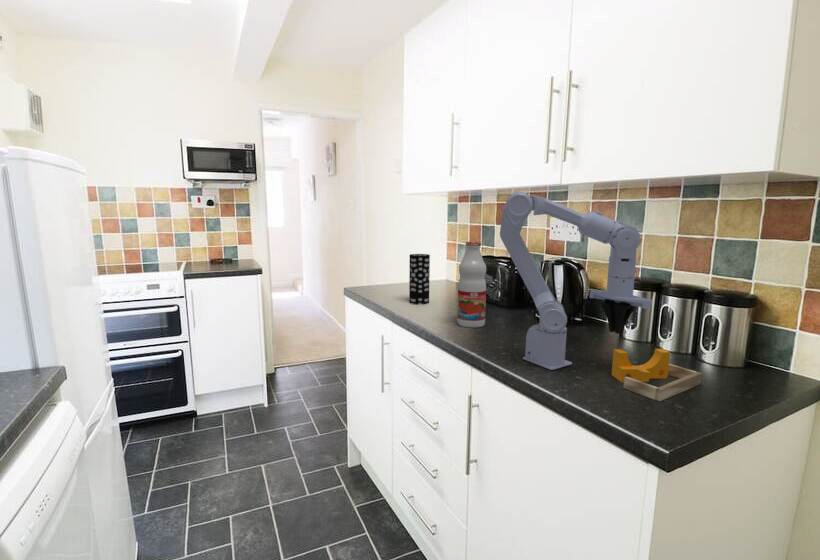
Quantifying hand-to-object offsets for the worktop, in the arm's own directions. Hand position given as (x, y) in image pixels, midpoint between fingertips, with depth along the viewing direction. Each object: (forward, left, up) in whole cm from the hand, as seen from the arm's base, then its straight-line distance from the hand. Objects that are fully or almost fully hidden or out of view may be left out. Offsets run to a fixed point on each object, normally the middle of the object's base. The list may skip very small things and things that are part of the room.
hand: (616, 332), depth 103 cm
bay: (+12, 0, -9) cm, 15 cm away
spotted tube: (-88, +1, -10) cm, 89 cm away
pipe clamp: (+7, 0, -10) cm, 12 cm away
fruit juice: (-50, -3, -10) cm, 51 cm away
